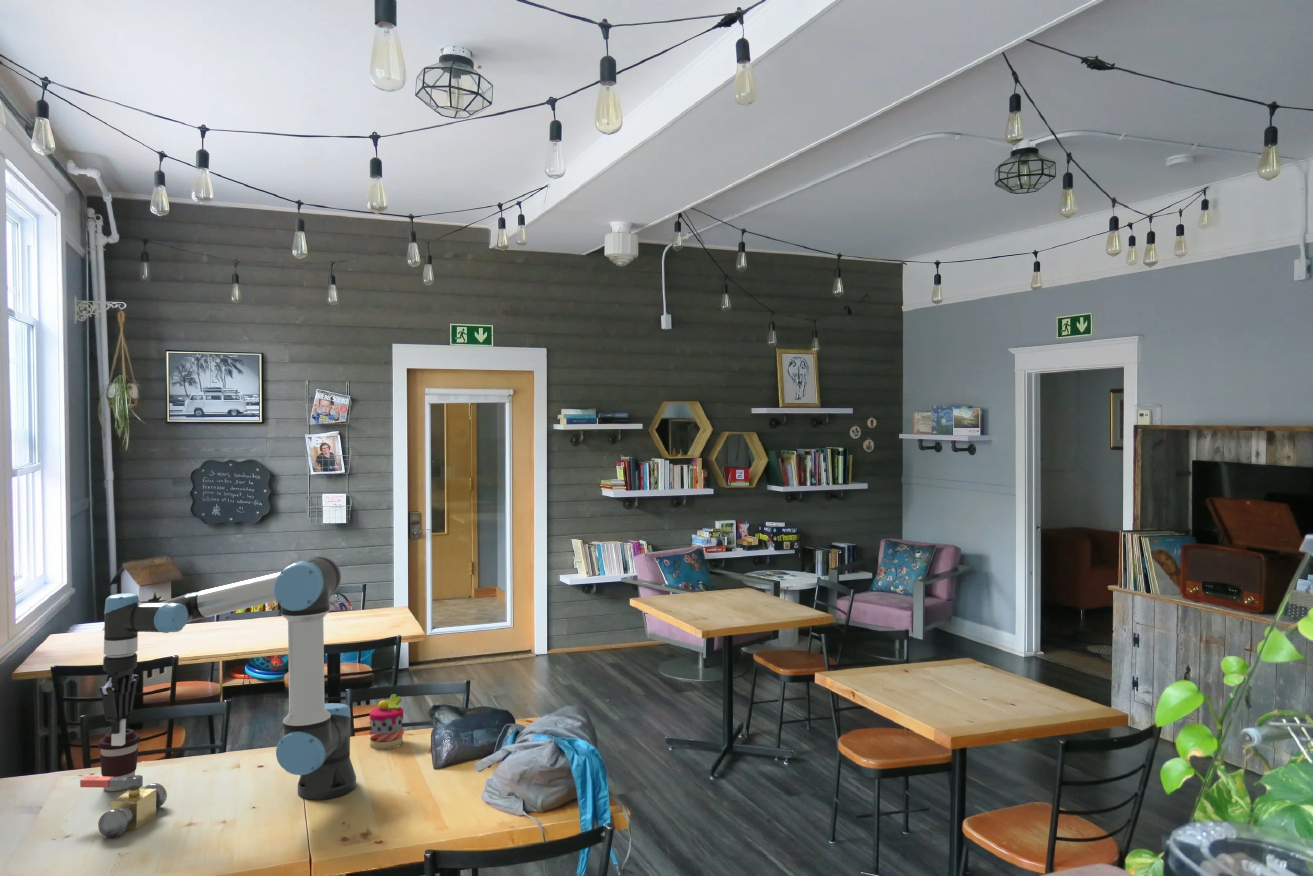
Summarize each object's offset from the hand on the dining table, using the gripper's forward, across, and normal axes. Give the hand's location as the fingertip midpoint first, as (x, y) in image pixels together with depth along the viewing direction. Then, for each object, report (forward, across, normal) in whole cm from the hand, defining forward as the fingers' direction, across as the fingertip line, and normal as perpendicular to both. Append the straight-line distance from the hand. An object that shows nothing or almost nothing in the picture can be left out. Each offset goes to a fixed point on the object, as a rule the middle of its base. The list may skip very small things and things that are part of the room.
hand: (118, 744), depth 222 cm
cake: (+16, -50, +54) cm, 75 cm away
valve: (+16, +8, +10) cm, 21 cm away
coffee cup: (+17, -14, -8) cm, 24 cm away
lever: (+8, +8, +4) cm, 12 cm away
